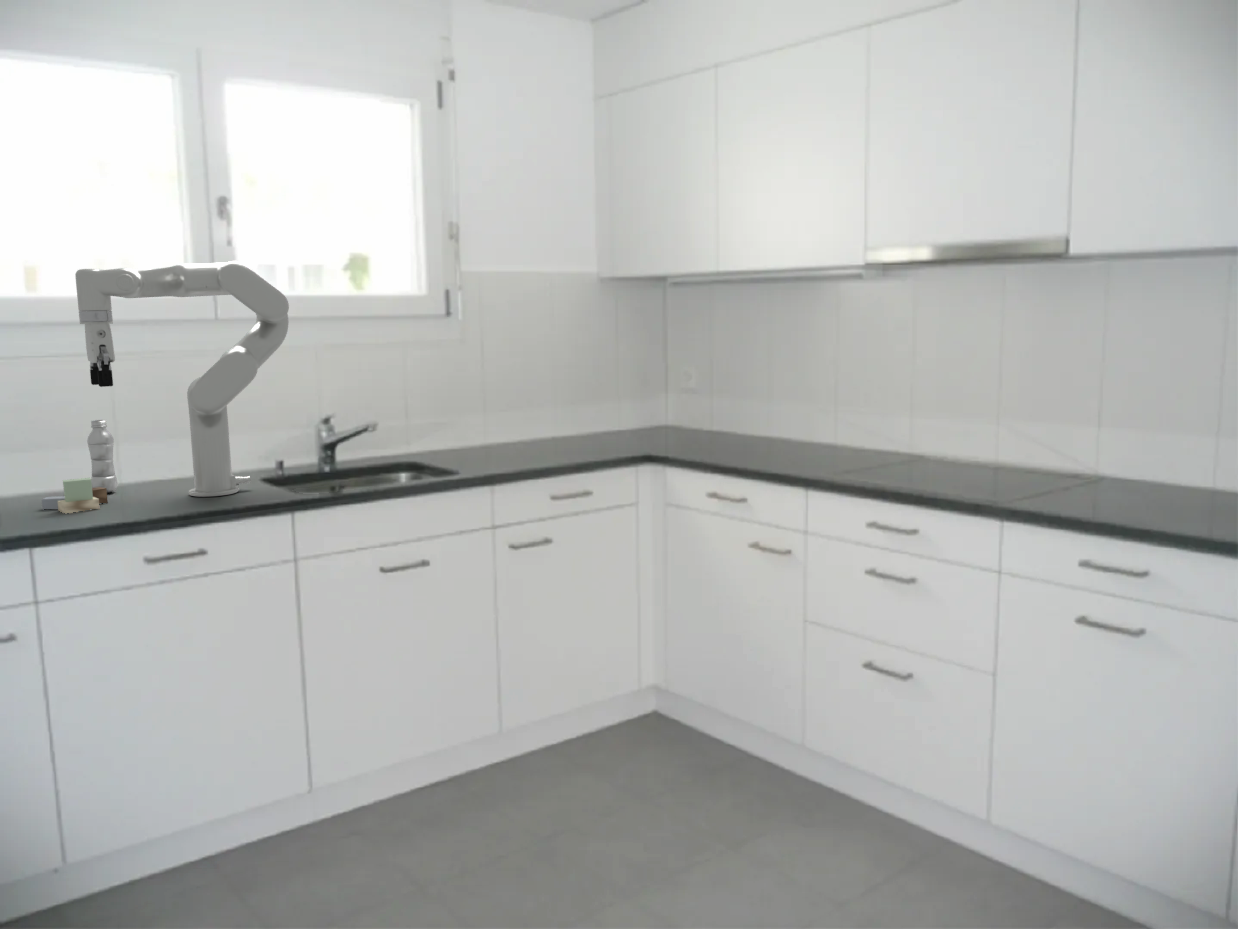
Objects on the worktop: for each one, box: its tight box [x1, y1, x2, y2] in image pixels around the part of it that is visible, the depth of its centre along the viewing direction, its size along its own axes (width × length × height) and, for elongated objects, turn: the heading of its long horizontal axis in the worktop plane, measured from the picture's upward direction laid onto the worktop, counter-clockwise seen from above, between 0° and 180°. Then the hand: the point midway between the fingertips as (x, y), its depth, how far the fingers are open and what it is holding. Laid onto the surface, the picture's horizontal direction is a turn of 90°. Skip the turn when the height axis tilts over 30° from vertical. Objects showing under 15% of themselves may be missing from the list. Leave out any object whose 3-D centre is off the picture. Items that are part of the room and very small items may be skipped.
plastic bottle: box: [86, 419, 118, 494], centre depth 272 cm, size 6×7×20 cm
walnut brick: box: [92, 487, 109, 505], centre depth 258 cm, size 5×4×4 cm
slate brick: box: [41, 495, 65, 511], centre depth 252 cm, size 6×4×3 cm, turn 99°
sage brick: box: [62, 477, 93, 502], centre depth 249 cm, size 6×4×5 cm, turn 123°
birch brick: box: [57, 497, 101, 515], centre depth 250 cm, size 8×5×3 cm, turn 135°
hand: (102, 385), depth 257 cm, fingers open, 9 cm apart
